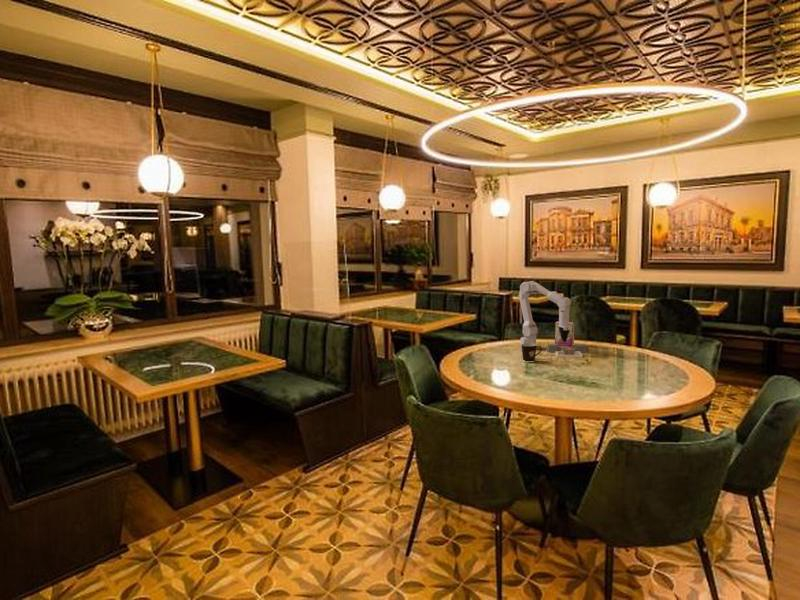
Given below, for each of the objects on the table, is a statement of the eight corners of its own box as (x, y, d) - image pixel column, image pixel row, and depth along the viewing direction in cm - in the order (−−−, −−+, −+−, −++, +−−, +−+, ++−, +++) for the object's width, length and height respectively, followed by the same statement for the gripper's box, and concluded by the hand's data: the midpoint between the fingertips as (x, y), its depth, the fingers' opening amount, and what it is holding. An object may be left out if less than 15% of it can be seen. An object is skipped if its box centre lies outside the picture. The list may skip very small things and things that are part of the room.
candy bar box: (554, 347, 305) (554, 322, 303) (556, 345, 309) (556, 321, 307) (572, 348, 299) (572, 323, 297) (574, 347, 303) (574, 322, 301)
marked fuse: (573, 355, 279) (573, 348, 278) (574, 357, 275) (574, 349, 274) (563, 355, 280) (563, 347, 279) (563, 357, 276) (563, 349, 275)
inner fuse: (557, 351, 289) (557, 344, 289) (558, 352, 286) (558, 345, 285) (547, 351, 291) (547, 343, 290) (548, 352, 287) (548, 345, 286)
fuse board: (587, 352, 287) (587, 346, 286) (589, 355, 281) (589, 348, 280) (545, 352, 292) (545, 346, 292) (545, 354, 286) (545, 348, 286)
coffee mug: (521, 363, 267) (521, 346, 266) (521, 359, 276) (521, 342, 275) (542, 363, 265) (542, 346, 264) (541, 360, 273) (541, 343, 272)
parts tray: (579, 355, 281) (579, 351, 280) (582, 359, 271) (582, 355, 271) (555, 355, 284) (555, 351, 283) (557, 359, 274) (557, 354, 274)
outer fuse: (585, 351, 286) (585, 344, 285) (586, 353, 282) (586, 345, 281) (574, 351, 287) (574, 344, 287) (575, 352, 283) (575, 345, 283)
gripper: (572, 319, 273) (572, 342, 274) (569, 315, 287) (569, 337, 288) (559, 319, 274) (559, 342, 276) (557, 315, 288) (557, 337, 290)
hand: (563, 340), depth 282 cm, fingers open, 7 cm apart
